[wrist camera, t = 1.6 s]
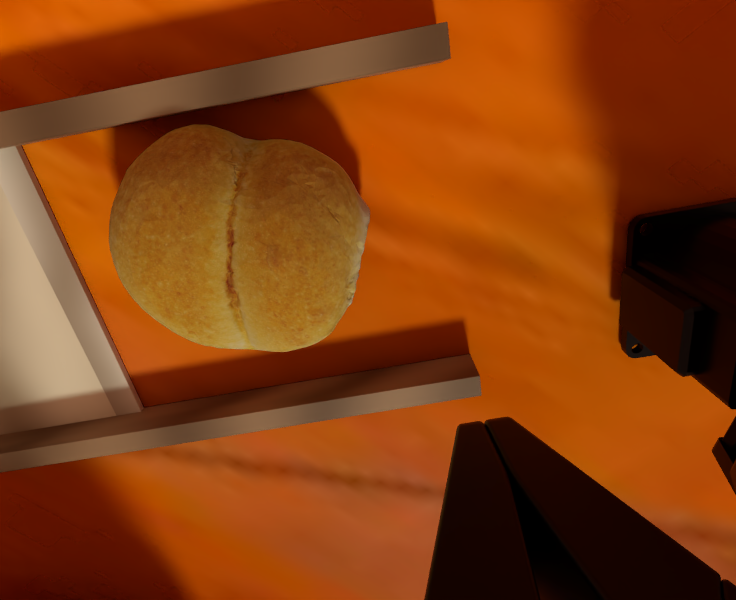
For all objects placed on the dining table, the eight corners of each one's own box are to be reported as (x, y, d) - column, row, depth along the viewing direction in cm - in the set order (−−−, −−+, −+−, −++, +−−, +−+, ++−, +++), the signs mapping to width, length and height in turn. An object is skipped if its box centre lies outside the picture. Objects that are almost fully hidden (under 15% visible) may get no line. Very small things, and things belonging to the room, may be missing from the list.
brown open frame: (437, 29, 15) (456, 13, 13) (471, 372, 21) (490, 416, 18) (-242, 166, 17) (-369, 181, 14) (-38, 455, 22) (-97, 508, 19)
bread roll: (125, 109, 16) (63, 110, 12) (377, 153, 17) (390, 166, 13) (132, 321, 19) (84, 373, 15) (344, 345, 20) (347, 399, 16)
